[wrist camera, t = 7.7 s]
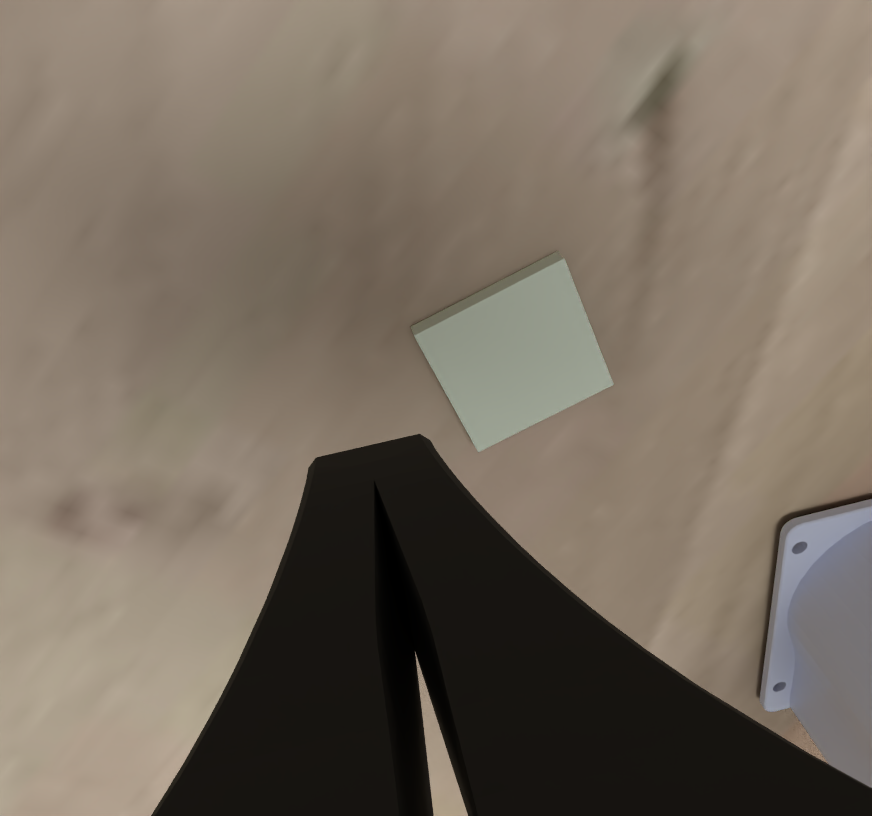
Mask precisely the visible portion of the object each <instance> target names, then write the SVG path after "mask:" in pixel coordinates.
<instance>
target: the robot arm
mask: <svg viewBox="0 0 872 816" xmlns="http://www.w3.org/2000/svg"><path fill="white" fill-rule="evenodd" d="M415 652H416V655H417V658H418V661H419V664H420V668H421V671H422V674H423V677H424V680H425V683H426V686H427V689H428V692H429V696H430V699H431V702H432V705H433V708H434V711H435V714H436V717H437V720H438V723H439V727H440V730H441V733H442V736H443V739H444V742H445V745H446V748H447V751H448V754H449V757H450V761H451V764H452V767H453V770H454V773H455V776H456V779H457V782H458V785H459V788H460V792H461V795H462V798H463V801H464V804H465V807H466V810H467V813H468V816H872V499H869V500H865V501H861V502H857V503H853V504H849V505H845V506H841V507H837V508H833V509H829V510H825V511H821V512H817V513H813V514H808V515H804V516H800V517H796V518H794V519H791V520H789V521H788V522H787V523H786V524H785V525H784V526H783V527H782V530H781V533H780V540H779V548H778V556H777V564H776V572H775V580H774V588H773V596H772V604H771V612H770V620H769V628H768V636H767V644H766V652H765V660H764V668H763V676H762V684H761V692H760V703H761V705H762V706H763V708H764V709H765V710H766V711H770V712H774V711H779V710H783V709H786V708H790V707H791V709H792V710H793V712H794V713H795V715H796V716H797V718H798V719H799V721H800V722H801V724H802V725H803V727H804V728H805V730H806V731H807V733H808V734H809V736H810V737H811V739H812V740H813V742H814V743H815V744H816V746H817V747H818V749H819V750H820V752H821V753H822V755H823V756H824V758H825V759H826V761H827V762H828V764H827V763H825V762H823V761H822V760H820V759H818V758H816V757H814V756H812V755H811V754H809V753H807V752H805V751H804V750H802V749H801V748H799V747H797V746H796V745H794V744H792V743H791V742H789V741H788V740H786V739H784V738H783V737H781V736H779V735H778V734H776V733H774V732H773V731H771V730H770V729H768V728H766V727H765V726H763V725H761V724H760V723H758V722H757V721H755V720H753V719H752V718H750V717H748V716H747V715H745V714H743V713H742V712H740V711H739V710H737V709H735V708H734V707H732V706H730V705H729V704H727V703H726V702H724V701H722V700H721V699H719V698H717V697H716V696H714V695H712V694H711V693H709V692H708V691H706V690H704V689H703V688H701V687H700V686H698V685H697V684H695V683H694V682H692V681H691V680H689V679H688V678H686V677H685V676H683V675H682V674H680V673H679V672H678V671H676V670H675V669H673V668H672V667H670V666H669V665H667V664H666V663H665V662H663V661H662V660H660V659H659V658H657V657H656V656H655V655H653V654H652V653H650V652H649V651H647V650H646V649H644V648H643V647H642V646H640V645H639V644H638V643H636V642H635V641H634V640H632V639H631V638H630V637H628V636H627V635H626V634H624V633H623V632H622V631H620V630H619V629H618V628H616V627H615V626H614V625H612V624H611V623H610V622H608V621H607V620H606V619H605V618H603V617H602V616H601V615H599V614H598V613H597V612H596V611H594V610H593V609H592V608H591V607H589V606H588V605H587V604H586V603H585V602H583V601H582V600H581V599H580V598H579V597H577V596H576V595H575V594H574V593H573V592H571V591H570V590H569V589H568V588H567V587H566V586H564V585H563V584H562V583H561V582H560V581H559V580H558V579H556V578H555V577H554V576H553V575H552V574H551V573H550V572H549V571H547V570H546V569H545V568H544V567H543V566H542V565H541V564H539V563H538V562H537V561H536V560H535V559H534V558H533V557H532V556H531V555H530V554H529V553H528V552H527V551H526V550H524V549H523V548H522V547H521V546H520V545H519V544H518V543H517V542H516V541H515V540H514V539H513V538H512V537H511V536H510V535H509V534H508V533H507V532H506V531H505V530H504V529H503V528H502V527H501V526H500V525H499V524H498V523H497V522H496V521H495V520H494V519H493V518H492V517H491V516H490V514H489V513H488V512H487V511H486V510H485V509H484V508H483V507H482V506H481V505H480V504H479V503H478V502H477V501H476V499H475V498H474V497H473V496H472V495H471V494H470V493H469V491H468V490H467V489H466V488H465V487H464V486H463V484H462V483H461V482H460V481H459V480H458V479H457V477H456V476H455V475H454V474H453V472H452V471H451V470H450V469H449V467H448V466H447V465H446V463H445V462H444V461H443V459H442V458H441V457H440V455H439V454H438V452H437V451H436V449H435V448H434V446H433V444H432V443H431V441H430V440H429V439H427V438H426V437H424V436H422V435H421V434H417V435H412V436H408V437H404V438H399V439H395V440H391V441H386V442H382V443H378V444H373V445H369V446H365V447H360V448H356V449H352V450H347V451H343V452H338V453H334V454H330V455H325V456H321V457H317V458H315V460H314V461H313V463H312V464H311V465H310V467H309V468H308V474H307V479H306V484H305V488H304V492H303V496H302V500H301V503H300V507H299V510H298V513H297V517H296V520H295V523H294V526H293V529H292V532H291V535H290V538H289V541H288V544H287V547H286V549H285V552H284V555H283V557H282V560H281V562H280V565H279V568H278V570H277V573H276V576H275V578H274V581H273V584H272V586H271V589H270V591H269V594H268V596H267V599H266V601H265V604H264V606H263V608H262V610H261V612H260V615H259V617H258V619H257V621H256V624H255V626H254V628H253V630H252V632H251V635H250V637H249V639H248V641H247V643H246V646H245V648H244V650H243V652H242V654H241V657H240V659H239V661H238V663H237V665H236V667H235V669H234V671H233V673H232V675H231V677H230V679H229V681H228V683H227V685H226V687H225V689H224V691H223V693H222V695H221V697H220V699H219V701H218V703H217V704H216V706H215V708H214V710H213V712H212V714H211V716H210V718H209V719H208V721H207V723H206V725H205V727H204V728H203V730H202V732H201V734H200V735H199V737H198V739H197V741H196V743H195V744H194V746H193V748H192V750H191V751H190V753H189V755H188V757H187V758H186V760H185V762H184V764H183V765H182V767H181V769H180V770H179V772H178V773H177V775H176V777H175V778H174V780H173V781H172V783H171V785H170V786H169V788H168V790H167V791H166V793H165V794H164V796H163V798H162V799H161V801H160V802H159V804H158V806H157V807H156V809H155V810H154V812H153V814H152V815H151V816H433V807H432V798H431V789H430V780H429V771H428V762H427V753H426V745H425V736H424V727H423V718H422V709H421V700H420V691H419V683H418V674H417V665H416V656H415Z"/></svg>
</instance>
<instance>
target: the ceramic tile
mask: <svg viewBox="0 0 872 816" xmlns="http://www.w3.org/2000/svg"><path fill="white" fill-rule="evenodd" d="M411 329H412V332H413V335H414V337H415V339H416V340H417V342H418V344H419V346H420V348H421V349H422V351H423V353H424V355H425V357H426V358H427V360H428V362H429V364H430V366H431V368H432V369H433V371H434V373H435V375H436V377H437V378H438V380H439V382H440V384H441V386H442V387H443V389H444V391H445V393H446V395H447V397H448V398H449V400H450V402H451V404H452V406H453V407H454V409H455V411H456V413H457V415H458V416H459V418H460V420H461V422H462V424H463V425H464V427H465V429H466V431H467V433H468V435H469V436H470V438H471V440H472V442H473V444H474V445H475V447H476V449H477V451H478V452H480V451H482V450H484V449H486V448H488V447H490V446H492V445H494V444H496V443H498V442H500V441H502V440H504V439H506V438H508V437H510V436H512V435H514V434H516V433H518V432H520V431H522V430H524V429H526V428H528V427H530V426H532V425H534V424H536V423H538V422H540V421H542V420H544V419H546V418H548V417H550V416H552V415H554V414H556V413H558V412H560V411H562V410H564V409H566V408H568V407H570V406H572V405H574V404H576V403H578V402H580V401H582V400H584V399H586V398H588V397H590V396H592V395H594V394H596V393H598V392H600V391H602V390H604V389H606V388H608V387H610V386H612V385H614V384H613V381H612V379H611V376H610V374H609V371H608V368H607V366H606V363H605V361H604V358H603V356H602V353H601V351H600V348H599V345H598V343H597V340H596V338H595V335H594V333H593V330H592V328H591V325H590V322H589V320H588V317H587V315H586V312H585V310H584V307H583V305H582V302H581V299H580V297H579V294H578V292H577V289H576V287H575V284H574V282H573V279H572V276H571V274H570V271H569V269H568V266H567V264H566V261H565V259H564V257H563V256H562V255H561V254H560V253H559V252H558V251H557V252H555V253H553V254H551V255H549V256H547V257H545V258H543V259H541V260H539V261H537V262H535V263H533V264H531V265H529V266H528V267H526V268H524V269H522V270H520V271H518V272H516V273H514V274H512V275H510V276H508V277H506V278H504V279H502V280H500V281H498V282H496V283H495V284H493V285H491V286H489V287H487V288H485V289H483V290H481V291H479V292H477V293H475V294H473V295H471V296H469V297H467V298H465V299H463V300H461V301H460V302H458V303H456V304H454V305H452V306H450V307H448V308H446V309H444V310H442V311H440V312H438V313H436V314H434V315H432V316H430V317H428V318H427V319H425V320H423V321H421V322H419V323H417V324H415V325H413V326H411Z"/></svg>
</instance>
